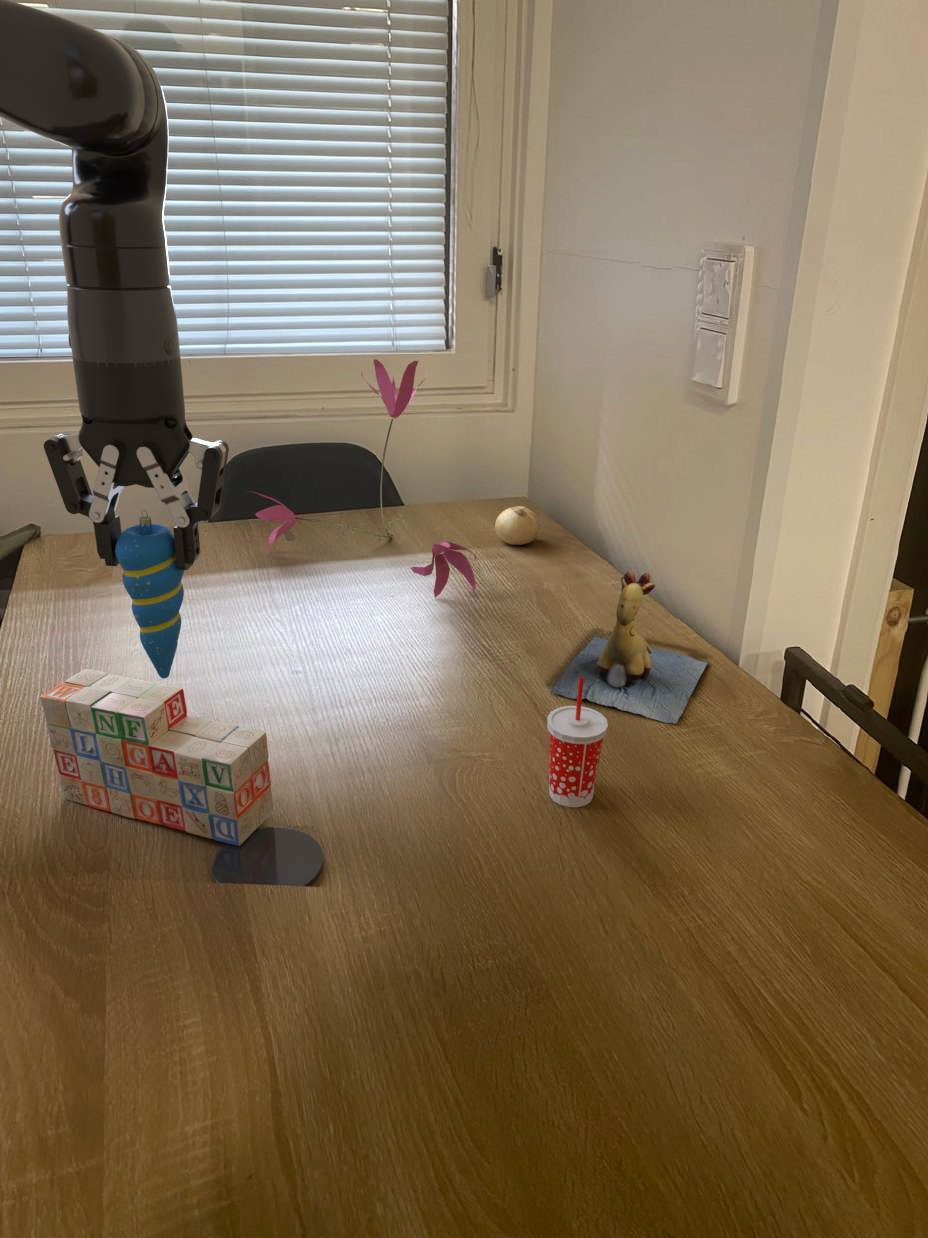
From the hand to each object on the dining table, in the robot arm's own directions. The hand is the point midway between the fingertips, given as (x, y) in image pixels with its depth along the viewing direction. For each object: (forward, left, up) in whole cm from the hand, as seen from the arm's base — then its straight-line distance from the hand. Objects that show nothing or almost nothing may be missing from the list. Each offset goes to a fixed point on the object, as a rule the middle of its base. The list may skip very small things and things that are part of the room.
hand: (150, 564), depth 74 cm
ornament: (0, 0, -11) cm, 11 cm away
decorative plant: (+8, +70, -29) cm, 76 cm away
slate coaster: (+8, -2, -29) cm, 30 cm away
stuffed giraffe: (+47, +37, -29) cm, 67 cm away
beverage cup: (+37, +11, -29) cm, 49 cm away
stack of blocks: (-4, +6, -29) cm, 30 cm away
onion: (+33, +87, -29) cm, 98 cm away
